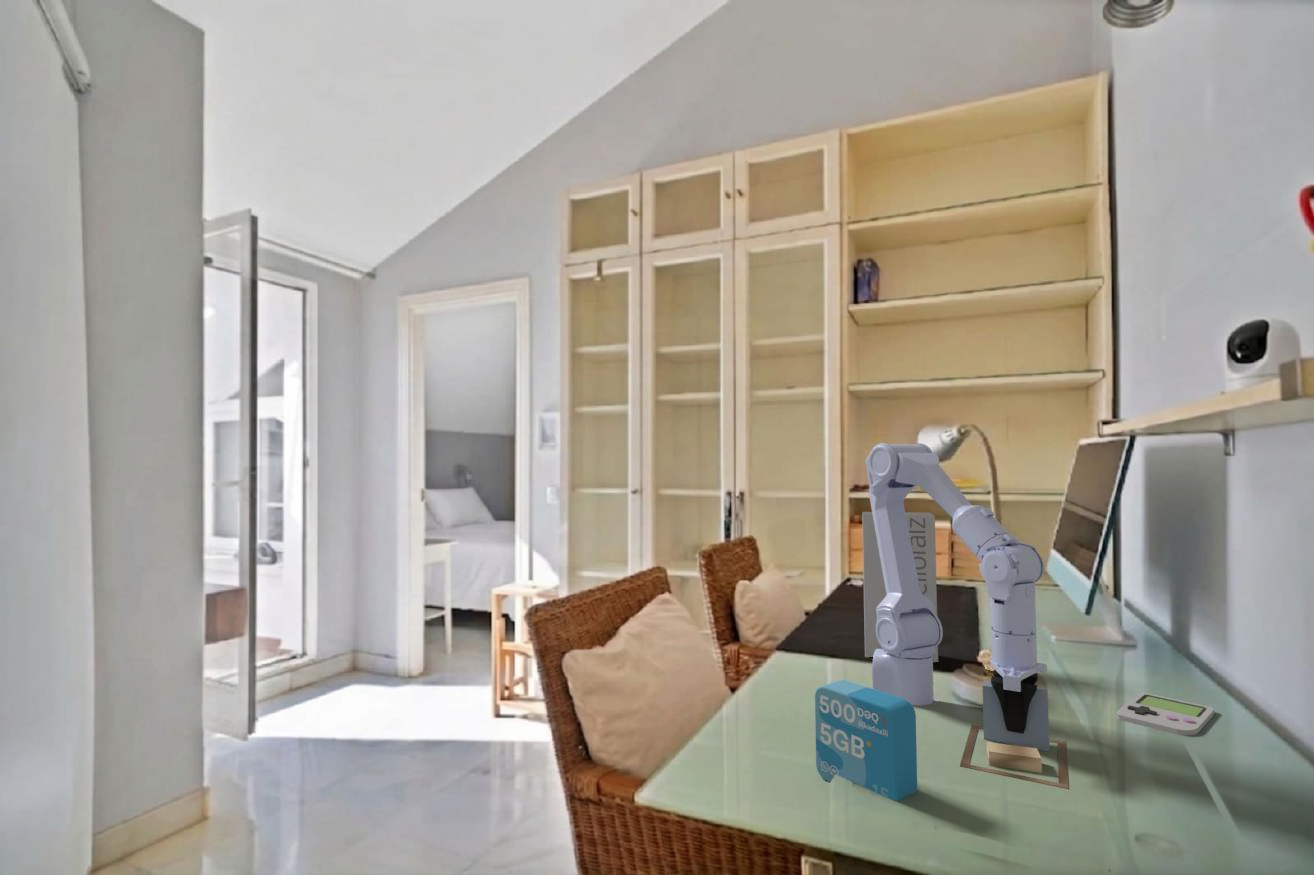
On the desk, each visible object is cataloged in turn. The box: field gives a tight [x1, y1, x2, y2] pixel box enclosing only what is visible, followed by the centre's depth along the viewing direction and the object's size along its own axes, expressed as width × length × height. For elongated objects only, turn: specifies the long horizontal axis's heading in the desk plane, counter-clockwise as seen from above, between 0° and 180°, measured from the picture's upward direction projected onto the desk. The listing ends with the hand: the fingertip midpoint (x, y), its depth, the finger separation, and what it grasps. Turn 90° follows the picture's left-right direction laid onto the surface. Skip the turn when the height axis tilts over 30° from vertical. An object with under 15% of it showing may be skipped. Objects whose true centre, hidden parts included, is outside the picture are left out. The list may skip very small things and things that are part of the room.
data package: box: [814, 679, 918, 802], centre depth 83 cm, size 12×4×12 cm, turn 37°
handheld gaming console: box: [1115, 692, 1215, 736], centre depth 106 cm, size 10×2×15 cm
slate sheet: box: [982, 680, 1050, 752], centre depth 93 cm, size 8×2×9 cm, turn 59°
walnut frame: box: [959, 724, 1069, 790], centre depth 89 cm, size 12×16×2 cm
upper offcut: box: [985, 741, 1043, 773], centre depth 86 cm, size 6×3×2 cm, turn 69°
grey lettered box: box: [861, 511, 939, 663], centre depth 139 cm, size 14×6×30 cm, turn 73°
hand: (1015, 727), depth 93 cm, fingers closed on slate sheet, 2 cm apart
